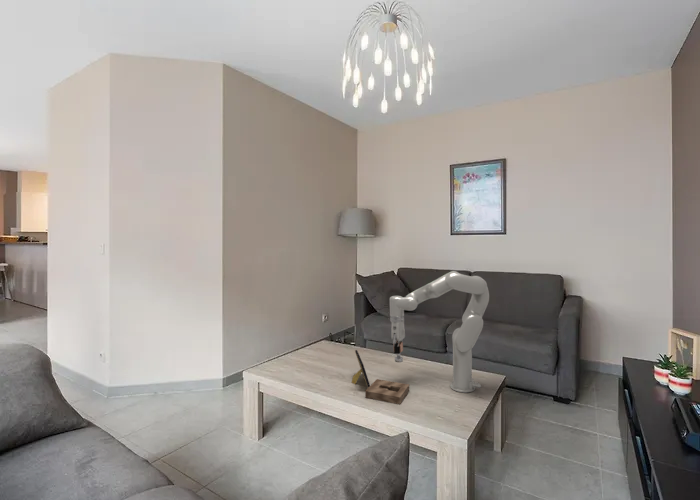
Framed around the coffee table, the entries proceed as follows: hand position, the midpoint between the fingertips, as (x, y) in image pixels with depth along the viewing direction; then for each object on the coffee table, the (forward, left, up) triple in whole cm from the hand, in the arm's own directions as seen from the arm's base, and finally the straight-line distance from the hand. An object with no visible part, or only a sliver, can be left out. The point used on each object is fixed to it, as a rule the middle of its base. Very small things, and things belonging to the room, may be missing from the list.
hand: (398, 351), depth 192 cm
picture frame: (+20, +8, -18) cm, 28 cm away
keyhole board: (+1, +15, -18) cm, 23 cm away
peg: (0, 0, -5) cm, 5 cm away
